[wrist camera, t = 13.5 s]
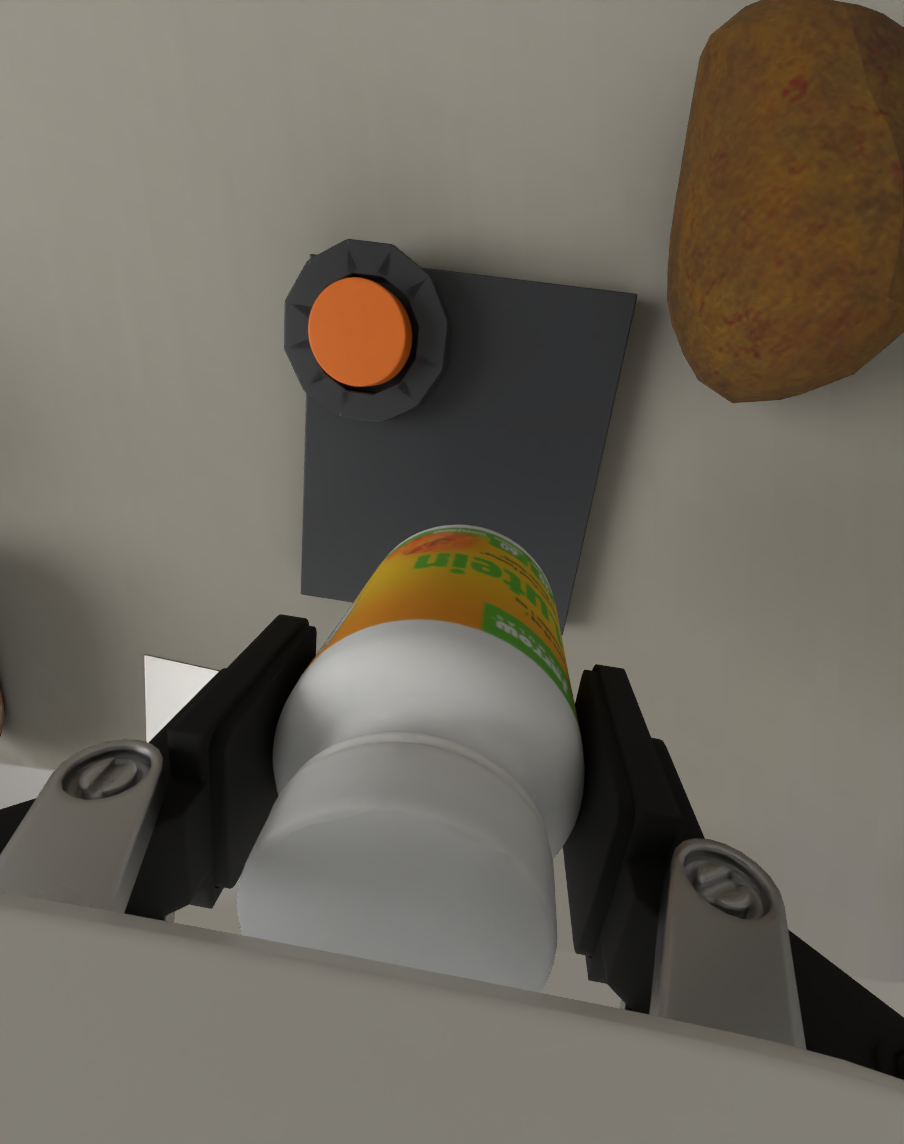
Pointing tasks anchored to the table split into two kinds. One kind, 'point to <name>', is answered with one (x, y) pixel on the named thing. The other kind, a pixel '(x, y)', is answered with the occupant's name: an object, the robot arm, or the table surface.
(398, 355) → the button
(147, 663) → the napkin holder
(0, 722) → the tin
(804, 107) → the potato
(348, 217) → the table surface
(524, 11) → the table surface
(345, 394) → the dark grey button base
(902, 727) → the table surface
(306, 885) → the supplement bottle
